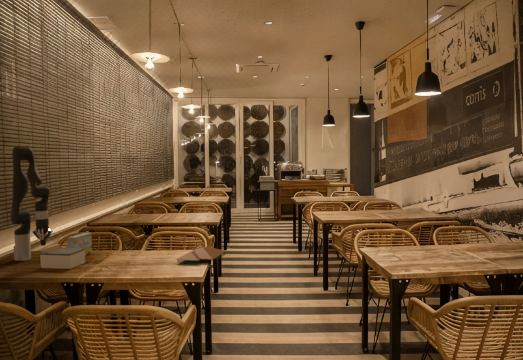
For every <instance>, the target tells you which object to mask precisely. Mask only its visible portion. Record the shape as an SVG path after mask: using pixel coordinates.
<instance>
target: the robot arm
mask: <svg viewBox="0 0 523 360" xmlns="http://www.w3.org/2000/svg"><path fill="white" fill-rule="evenodd" d="M11 152H12V153H11V154H12V155H11V156H12V157H11V158H12V159H11V160H12V200H11V208H10V221H11V223H12V224H13V225H20V226H19V227H18V228H17V229H15V230H14V232H13V234H14V246H13V259H14V261H15V262H24V261H29V260H31V259H32V246H31V226H32V225H31V219H32V218H31V217H32V216H31V213H30V211H29V209H26V208H25V209H21V204H22V201H23V200H24V198H25V197H26V196H27V194H28V192H29V184H30V193H31V196H32V197H33V198H34V199H39V198H40V200H39V201H36V202H35V204H34V210H35V212H34V220H35V230H33V231H32V234H33V235H34V236H35V238H37V239H38V240H39V241H40V246H41V247H42V246H44V247H45V246H46V245H47V239H49V238H50V237H51V235H52V234H53V232H54V231H53V230H52V229H50V227H49V225H50V221H49V220H50V219H49V210H48V202H49V197H50V195H51V192H50V188H49V187H48V186H47V185H42V184H43V180H42V178H41V177H42V176H41V175H40V173H39V171H38V168H37V167H38V166H37V164H36V163H37V162H36V159H35V155H34V152H33V149H32V148H31V147H30V146H19V145H18V146H14V147H13V149H12V151H11ZM21 161H22V162H24V161H25V162H26V161H27V162H28V167H27V170H26V174H25V172H24V171H23V169H22V164H21ZM41 185H42V186H41Z"/></svg>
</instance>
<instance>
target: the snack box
mask: <svg viewBox="0 0 523 360" xmlns="http://www.w3.org/2000/svg"><path fill="white" fill-rule="evenodd" d="M92 235H93V233H92V232H82V233H80V234H79V233H78V234H76V235H71V236H69V237H67V238H66V246H67V247H66V248H84V249H85V257H86V256H90V255H92V254H93V242H92V241H93V238H92V237H93V236H92Z"/></svg>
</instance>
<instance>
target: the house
mask: <svg viewBox="0 0 523 360" xmlns="http://www.w3.org/2000/svg"><path fill="white" fill-rule="evenodd" d="M226 252H227V250H224V249H219V248H215V247H211V246H210V247H209V246H201V247H198V248H195V249H193V250H191V251H190V252H188V253H185V254H183V255H181V256H180V257H178V258H176V259H175V261H176V260H177V264H179V262H181V261H182V262H181V264H184V261H185V264H186V263H187V264H188V263H191V265H192V264H193V265H194V264H201V263H202V261H203V262H205V261H206V260H209V262H212V261H218V260H219V259H221V258H223V257H225V255H226ZM198 262H199V263H198ZM200 262H201V263H200Z"/></svg>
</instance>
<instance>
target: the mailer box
mask: <svg viewBox="0 0 523 360" xmlns="http://www.w3.org/2000/svg"><path fill="white" fill-rule="evenodd" d="M39 255H40V254H39ZM39 259H40V268H41V269H59V270H60V269H61V270H62V269H67V270H72V269H73V268H76V267H78V266H81V265H82V264H83V265H84V264H85V263H86V256H85V250H83V251H80V252H77V253H75V254H72V255H40V258H39Z"/></svg>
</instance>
